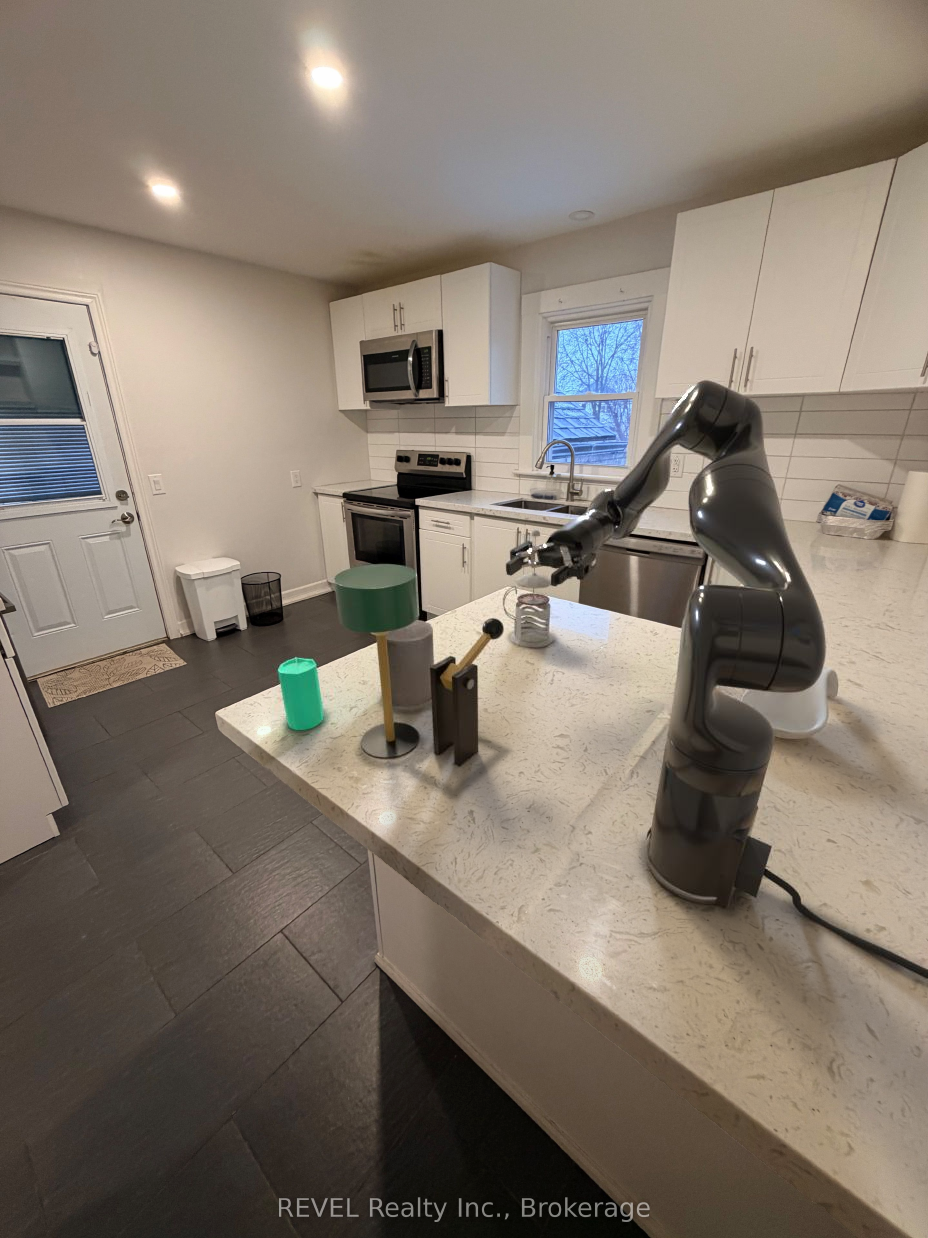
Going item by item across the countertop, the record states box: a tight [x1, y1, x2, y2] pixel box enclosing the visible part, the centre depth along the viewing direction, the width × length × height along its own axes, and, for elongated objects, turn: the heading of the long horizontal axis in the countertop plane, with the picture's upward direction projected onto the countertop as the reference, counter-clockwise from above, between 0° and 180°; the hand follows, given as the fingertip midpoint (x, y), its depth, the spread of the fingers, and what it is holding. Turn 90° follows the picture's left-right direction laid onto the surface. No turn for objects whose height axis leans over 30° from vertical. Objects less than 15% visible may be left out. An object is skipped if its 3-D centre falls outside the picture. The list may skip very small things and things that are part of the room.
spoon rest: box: [739, 667, 839, 740], centre depth 82 cm, size 24×12×7 cm, turn 128°
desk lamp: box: [333, 563, 421, 760], centre depth 71 cm, size 15×11×28 cm
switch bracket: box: [430, 655, 479, 768], centre depth 71 cm, size 12×9×16 cm
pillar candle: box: [386, 619, 435, 707], centre depth 87 cm, size 10×10×15 cm
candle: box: [277, 656, 325, 731], centre depth 82 cm, size 6×6×12 cm
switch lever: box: [440, 617, 505, 690], centre depth 71 cm, size 13×3×3 cm, turn 140°
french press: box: [502, 529, 554, 648], centre depth 109 cm, size 10×12×25 cm
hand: (529, 575), depth 81 cm, fingers open, 8 cm apart
